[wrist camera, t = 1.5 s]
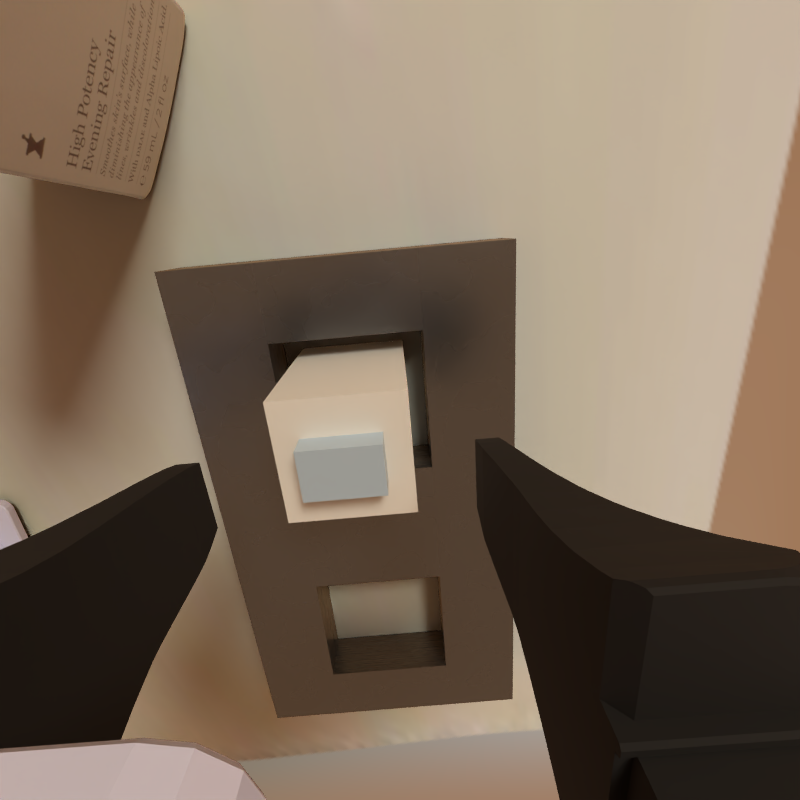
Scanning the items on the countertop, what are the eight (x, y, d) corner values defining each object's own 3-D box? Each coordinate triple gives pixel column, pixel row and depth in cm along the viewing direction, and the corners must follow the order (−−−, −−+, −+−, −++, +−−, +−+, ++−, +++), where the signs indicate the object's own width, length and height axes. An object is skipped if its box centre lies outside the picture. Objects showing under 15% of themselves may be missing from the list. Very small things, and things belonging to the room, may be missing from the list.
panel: (286, 680, 24) (277, 717, 22) (181, 267, 16) (154, 271, 15) (502, 662, 24) (512, 698, 22) (501, 238, 16) (516, 238, 14)
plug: (318, 438, 19) (282, 540, 13) (303, 348, 18) (254, 413, 11) (409, 429, 19) (420, 528, 13) (402, 339, 18) (408, 400, 11)
